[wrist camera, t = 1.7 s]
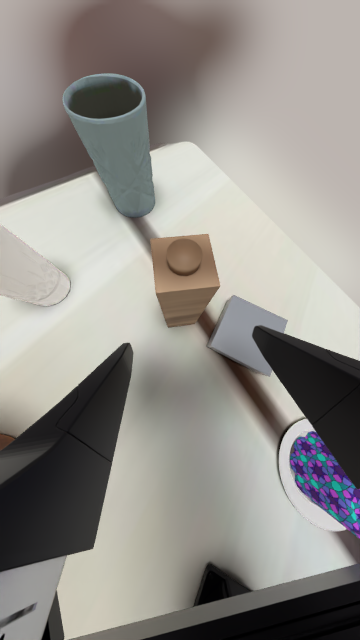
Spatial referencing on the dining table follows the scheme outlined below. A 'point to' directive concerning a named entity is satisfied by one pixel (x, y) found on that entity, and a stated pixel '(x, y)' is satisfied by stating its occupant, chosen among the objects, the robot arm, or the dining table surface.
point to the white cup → (29, 273)
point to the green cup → (115, 137)
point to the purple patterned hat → (318, 482)
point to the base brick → (243, 333)
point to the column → (184, 277)
